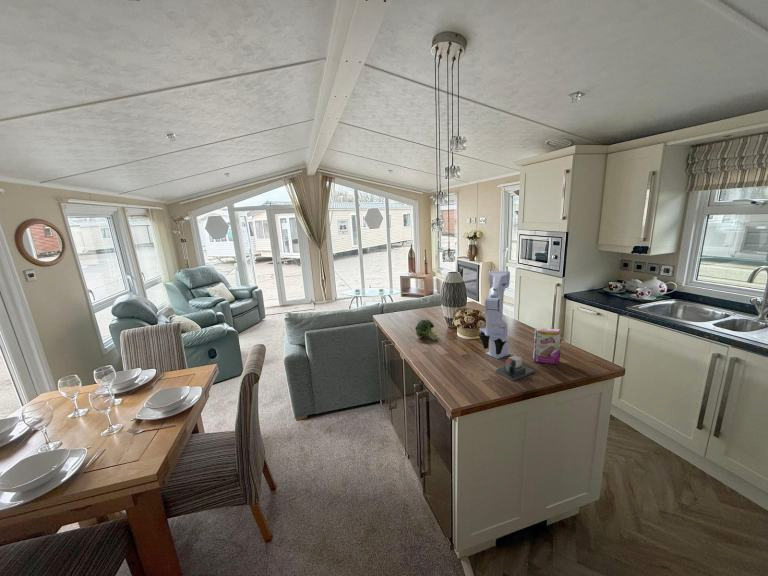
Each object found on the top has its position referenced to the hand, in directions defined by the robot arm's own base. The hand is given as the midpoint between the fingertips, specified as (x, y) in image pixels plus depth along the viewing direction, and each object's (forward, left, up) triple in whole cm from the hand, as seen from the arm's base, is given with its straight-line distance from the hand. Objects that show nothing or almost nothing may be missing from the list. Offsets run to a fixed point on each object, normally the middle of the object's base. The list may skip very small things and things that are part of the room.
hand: (492, 351), depth 144 cm
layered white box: (-7, +7, -9) cm, 13 cm away
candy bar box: (-28, +8, -10) cm, 31 cm away
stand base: (-7, +7, -10) cm, 14 cm away
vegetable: (-1, -52, -10) cm, 53 cm away
